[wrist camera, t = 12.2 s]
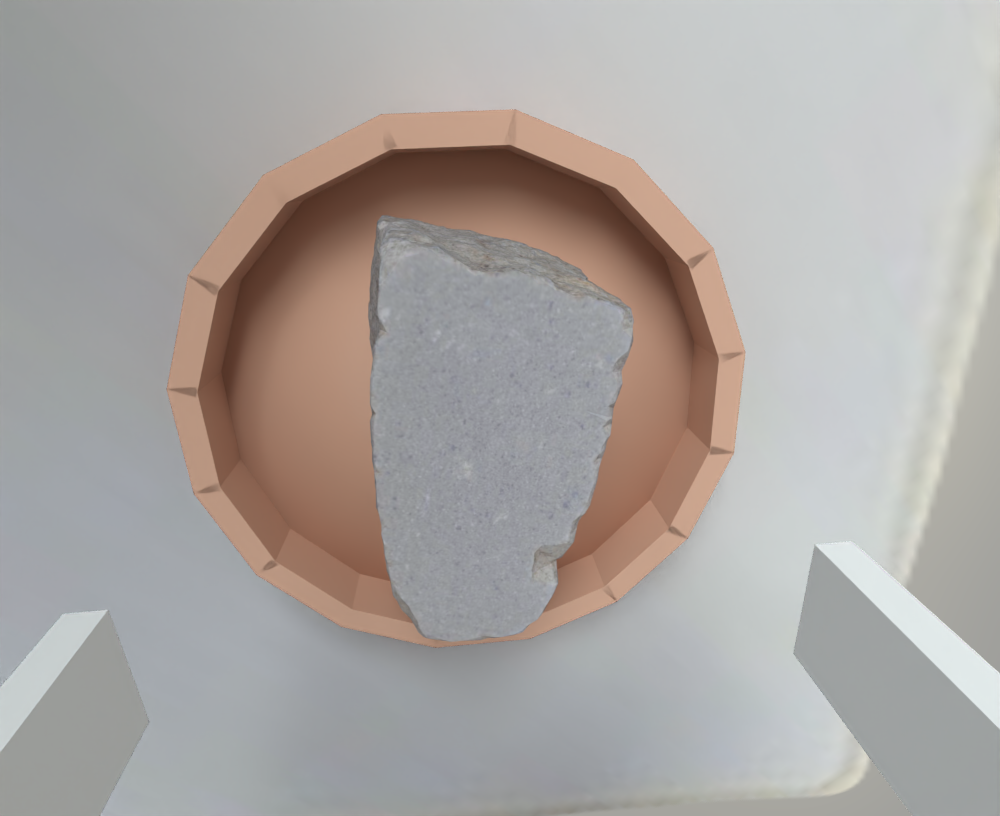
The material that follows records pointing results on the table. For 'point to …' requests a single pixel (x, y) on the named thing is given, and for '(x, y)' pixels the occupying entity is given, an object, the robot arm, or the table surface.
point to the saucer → (348, 357)
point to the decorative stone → (484, 420)
